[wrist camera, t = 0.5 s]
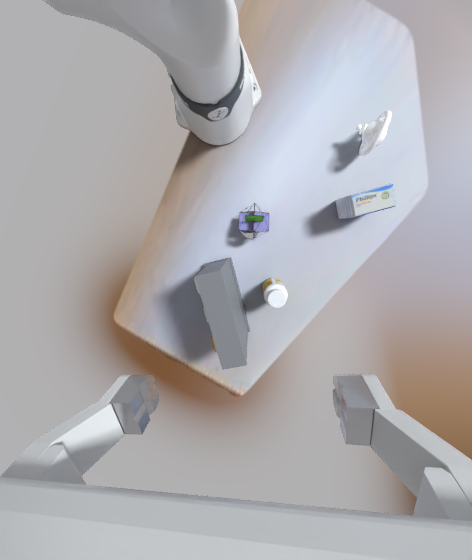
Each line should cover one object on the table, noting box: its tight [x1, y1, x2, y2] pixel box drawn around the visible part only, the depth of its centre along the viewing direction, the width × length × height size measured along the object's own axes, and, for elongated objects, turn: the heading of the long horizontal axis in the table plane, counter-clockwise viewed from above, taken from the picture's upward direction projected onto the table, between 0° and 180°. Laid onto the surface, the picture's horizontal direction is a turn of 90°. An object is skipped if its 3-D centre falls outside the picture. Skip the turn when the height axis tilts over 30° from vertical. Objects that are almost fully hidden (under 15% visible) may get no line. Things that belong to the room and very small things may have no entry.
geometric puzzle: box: [239, 203, 270, 239], centre depth 51 cm, size 7×7×8 cm
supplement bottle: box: [262, 277, 288, 308], centre depth 53 cm, size 5×5×10 cm
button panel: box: [195, 257, 250, 369], centre depth 51 cm, size 20×7×16 cm, turn 14°
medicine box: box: [335, 184, 395, 219], centre depth 47 cm, size 8×4×9 cm, turn 106°
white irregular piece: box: [356, 110, 392, 156], centre depth 44 cm, size 8×6×8 cm
